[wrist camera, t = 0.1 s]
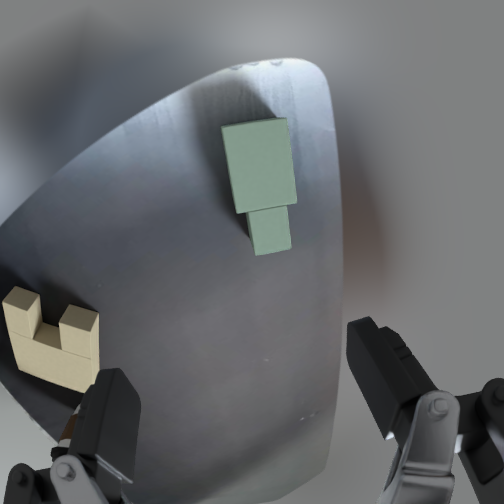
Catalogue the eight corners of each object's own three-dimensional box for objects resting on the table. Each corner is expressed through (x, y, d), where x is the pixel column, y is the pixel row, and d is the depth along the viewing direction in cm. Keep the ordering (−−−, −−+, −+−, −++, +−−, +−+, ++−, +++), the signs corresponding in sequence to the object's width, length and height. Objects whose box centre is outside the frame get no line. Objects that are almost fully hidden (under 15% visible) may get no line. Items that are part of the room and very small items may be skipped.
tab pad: (220, 126, 24) (221, 127, 21) (277, 117, 24) (287, 117, 21) (240, 241, 29) (244, 258, 26) (291, 232, 29) (301, 247, 26)
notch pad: (15, 285, 27) (1, 301, 24) (99, 312, 30) (90, 332, 27) (27, 353, 32) (18, 369, 29) (99, 377, 35) (94, 396, 31)
